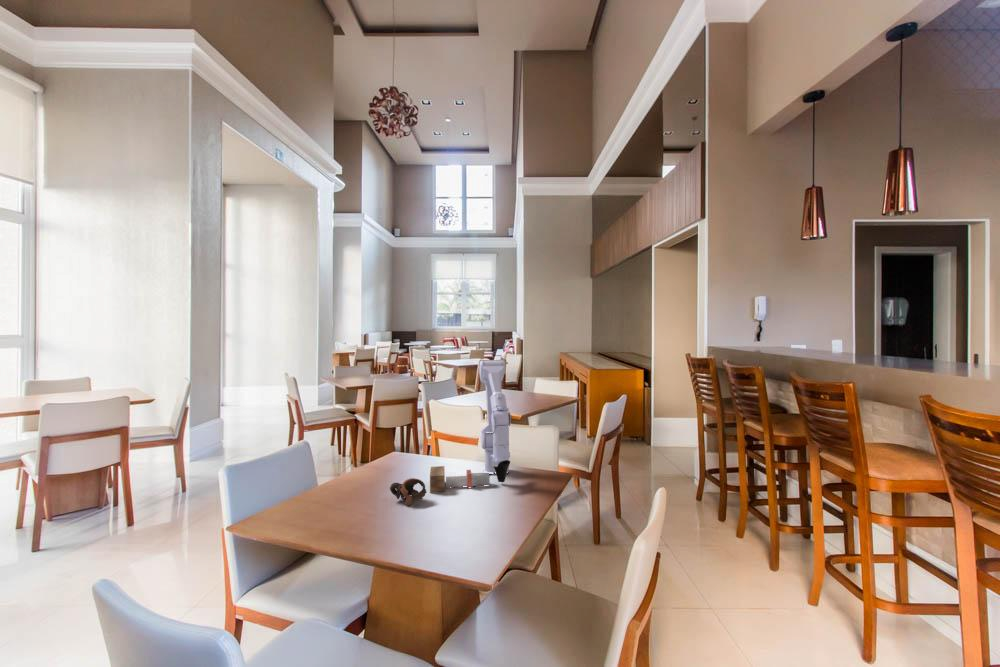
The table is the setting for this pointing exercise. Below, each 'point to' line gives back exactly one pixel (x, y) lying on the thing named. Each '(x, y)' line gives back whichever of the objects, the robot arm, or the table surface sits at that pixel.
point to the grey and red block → (468, 480)
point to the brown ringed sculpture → (408, 490)
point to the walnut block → (437, 479)
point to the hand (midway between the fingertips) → (501, 481)
